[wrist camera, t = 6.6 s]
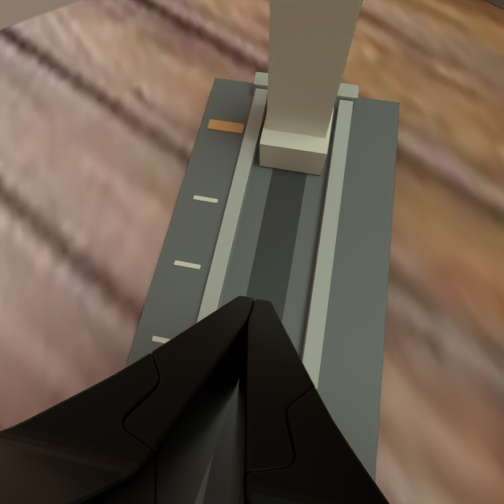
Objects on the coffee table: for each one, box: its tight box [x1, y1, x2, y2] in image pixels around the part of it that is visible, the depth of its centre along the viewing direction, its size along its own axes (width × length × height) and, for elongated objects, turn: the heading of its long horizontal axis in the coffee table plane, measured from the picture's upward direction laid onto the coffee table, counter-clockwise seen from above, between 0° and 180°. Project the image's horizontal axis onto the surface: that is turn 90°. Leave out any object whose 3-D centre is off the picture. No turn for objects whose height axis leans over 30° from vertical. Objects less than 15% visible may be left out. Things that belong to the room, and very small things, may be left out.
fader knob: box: [260, 0, 363, 175], centre depth 15 cm, size 5×4×12 cm
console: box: [125, 72, 400, 504], centre depth 18 cm, size 26×12×2 cm, turn 169°
